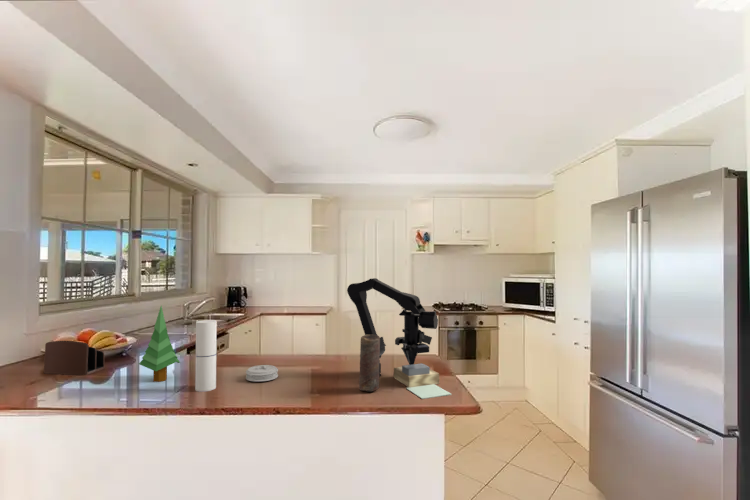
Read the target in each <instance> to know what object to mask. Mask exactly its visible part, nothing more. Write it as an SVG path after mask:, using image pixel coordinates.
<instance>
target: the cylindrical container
mask: <svg viewBox="0 0 750 500" xmlns="http://www.w3.org/2000/svg"><path fill="white" fill-rule="evenodd" d="M217 321H218V320H215V319H204V320H197V321H195V388H194V389H195V391H196V392H200V393H201V392H204V393H205V392H211V391H212V390H215V389H216V388H217V327H218V325H217V324H218V323H217Z"/></svg>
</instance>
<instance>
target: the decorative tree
mask: <svg viewBox="0 0 750 500" xmlns="http://www.w3.org/2000/svg"><path fill="white" fill-rule="evenodd" d="M153 329H154V330H153V332H152V334H151V337H150V340H149V343H148V345H147V346H148V347H146V350H145V351H144V352H145V353H144V354H143V356H142V357H141V359H142V360H141V361H140V362H139V363H138V364H139V365H140V366H142V367H144V368H147V369H150V370H152V372H153V373H152V374H153V381H152V382H154V383H155V382H156V383H160V382H165V381H166V380H167V377H168V375H167V374H168V373H167V372H168V371H167V370H168V369H167V368H168V366H170V365H173V364H176V363H177V364H181V363H182V362H181V361H180V360H179V359H178V358H179V357H178V356H177V355H176V352H175V349H174V348H173V345H172V343H171V339H170V336H169V334H168V329H167V323H166V320H165V316H164V312H163V307H162V305H160V308H159V310H158V314H157V317H156V321H155V323H154V327H153Z"/></svg>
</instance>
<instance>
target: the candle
mask: <svg viewBox="0 0 750 500" xmlns="http://www.w3.org/2000/svg"><path fill="white" fill-rule="evenodd" d="M380 337H381V336H379V335H378V334H377V335H373V334H371V335H370V334H369V335H368V334H367V335H365V334H363V335H362V336H361V337H360V349H359V350H360V352H359V379H358V380H359V381H358V383H359V386H358V388H359V390H360V391H364V392H368V393H371V392H374V391H376V390H378V389H379V388H380V376H379V360H380V359H379V356H380Z"/></svg>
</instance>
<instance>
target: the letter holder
mask: <svg viewBox="0 0 750 500" xmlns="http://www.w3.org/2000/svg"><path fill="white" fill-rule="evenodd" d="M43 358H44V359H43V362H44V363H43V374H47V375H72V376H73V375H74V376H75V375H76V376H88V375H92V374H94V373H97V372H99V371H102V370H104V369H105V352H104V351H102V350H98V349H96V348H95V347H92V346H89V344H88V343H86V342H82V341H75V340H53V341H48V342H45V345H44V357H43Z"/></svg>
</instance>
